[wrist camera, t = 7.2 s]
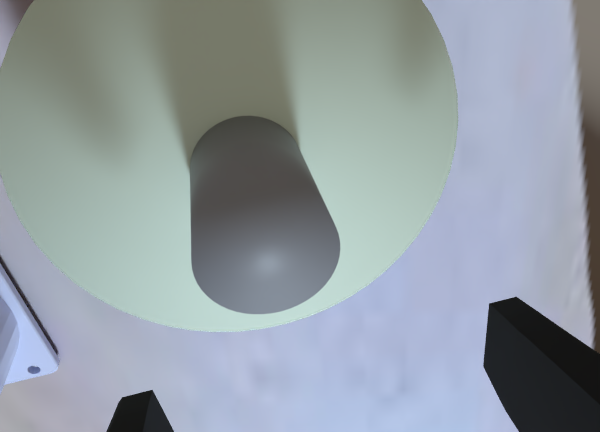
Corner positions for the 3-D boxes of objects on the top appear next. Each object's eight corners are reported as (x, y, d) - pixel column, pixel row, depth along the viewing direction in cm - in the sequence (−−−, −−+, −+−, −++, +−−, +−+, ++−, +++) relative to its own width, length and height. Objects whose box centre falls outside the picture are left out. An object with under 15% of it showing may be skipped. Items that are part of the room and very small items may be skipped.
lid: (109, 351, 17) (84, 491, 13) (-108, -41, 10) (-304, -5, 6) (442, 267, 18) (517, 373, 14) (450, -141, 11) (603, -168, 7)
